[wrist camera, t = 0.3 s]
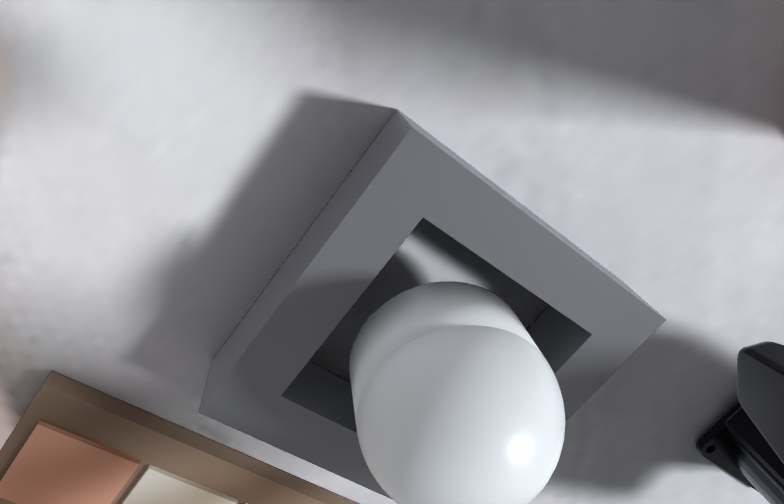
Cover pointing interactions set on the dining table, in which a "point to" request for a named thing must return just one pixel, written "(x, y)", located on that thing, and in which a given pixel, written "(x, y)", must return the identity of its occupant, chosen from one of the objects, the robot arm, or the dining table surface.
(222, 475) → the game track
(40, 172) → the dining table surface
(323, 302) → the dome collar
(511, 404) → the dome
